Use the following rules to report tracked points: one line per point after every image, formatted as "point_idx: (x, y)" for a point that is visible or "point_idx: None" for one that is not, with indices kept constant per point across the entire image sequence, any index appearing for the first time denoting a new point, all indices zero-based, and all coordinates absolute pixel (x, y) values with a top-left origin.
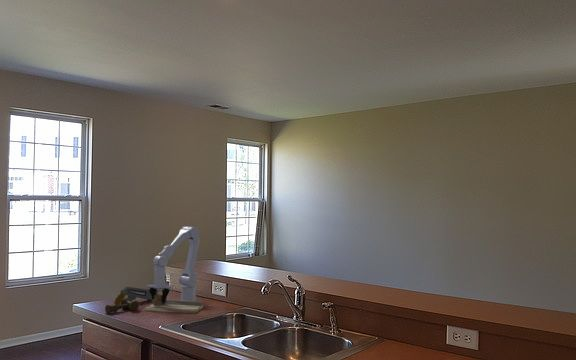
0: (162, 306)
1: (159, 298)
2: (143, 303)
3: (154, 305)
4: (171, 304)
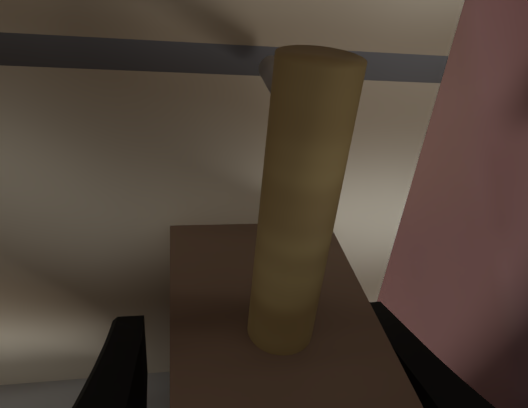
0: (91, 181)
1: (214, 355)
2: (522, 380)
3: None
4: (9, 365)
